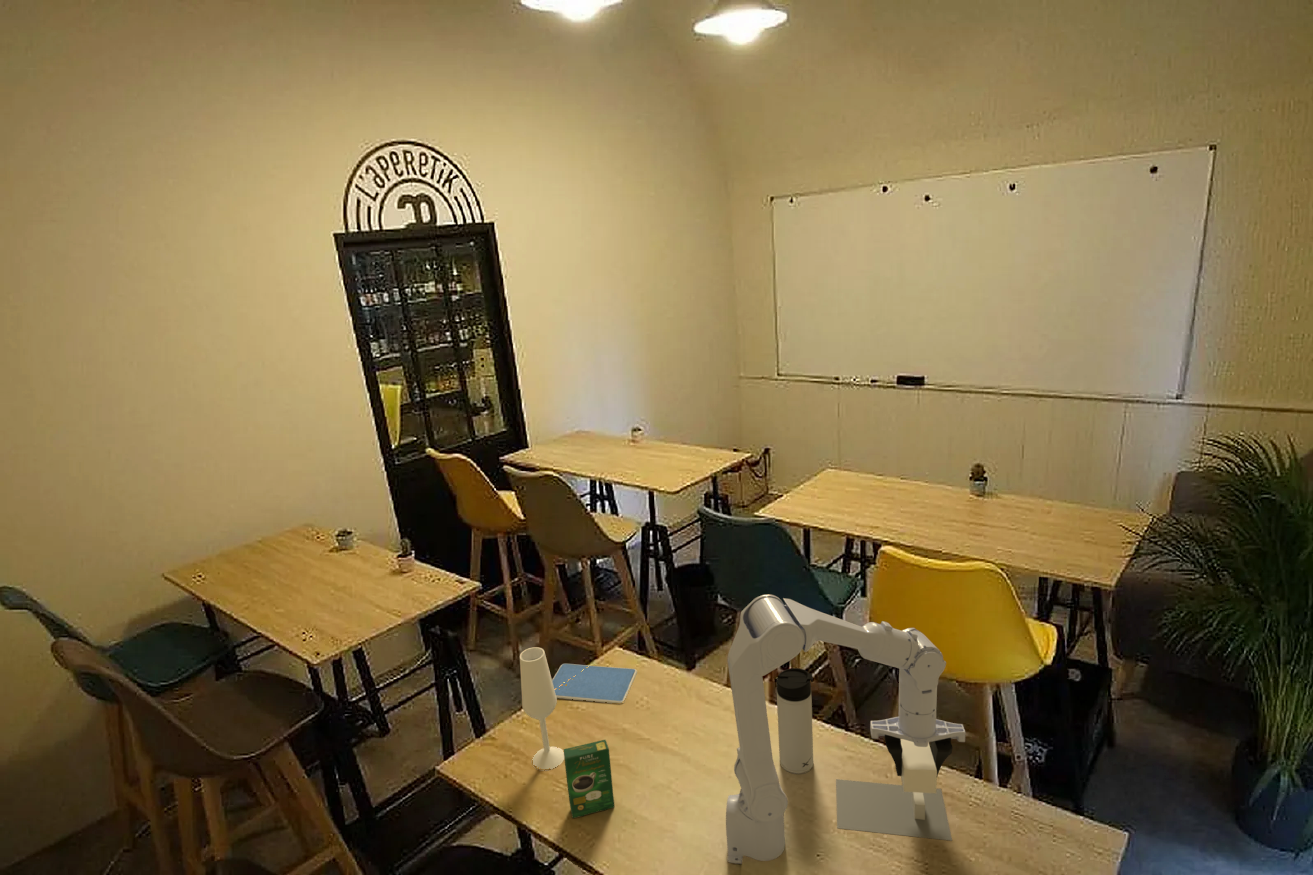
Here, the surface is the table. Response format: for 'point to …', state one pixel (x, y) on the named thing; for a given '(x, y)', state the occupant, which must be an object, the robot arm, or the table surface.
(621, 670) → the tablet computer
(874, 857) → the table surface
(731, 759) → the table surface
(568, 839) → the table surface
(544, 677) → the champagne flute
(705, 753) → the table surface
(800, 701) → the travel mug
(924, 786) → the cream rectangular block
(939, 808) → the board
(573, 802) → the coffee box
